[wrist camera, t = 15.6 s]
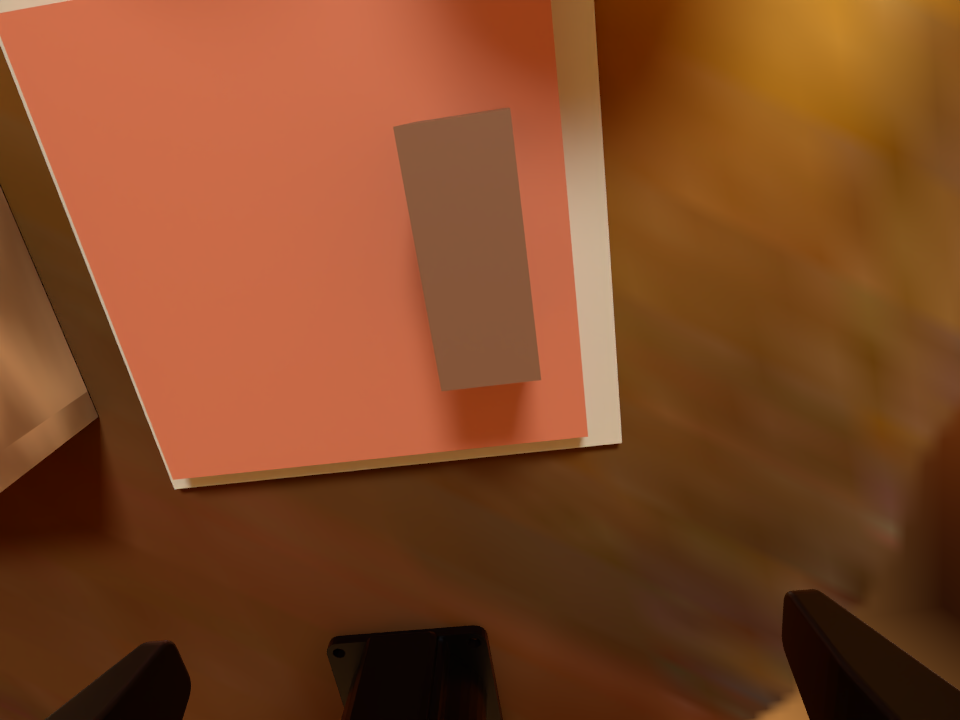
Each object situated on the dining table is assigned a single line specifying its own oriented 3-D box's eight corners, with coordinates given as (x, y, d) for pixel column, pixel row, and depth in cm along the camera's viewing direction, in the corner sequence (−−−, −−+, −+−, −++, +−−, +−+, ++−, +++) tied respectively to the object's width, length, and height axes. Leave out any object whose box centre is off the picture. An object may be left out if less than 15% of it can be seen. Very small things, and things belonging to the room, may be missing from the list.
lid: (584, 421, 21) (607, 513, 16) (186, 464, 22) (101, 560, 17) (541, -74, 15) (556, -149, 11) (20, 19, 17) (-167, -13, 12)
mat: (619, 437, 21) (621, 443, 21) (179, 483, 23) (174, 489, 22) (583, -128, 15) (585, -133, 15) (-14, -17, 17) (-25, -19, 16)
